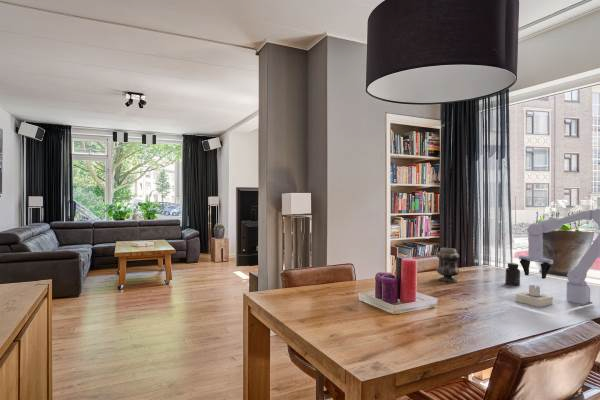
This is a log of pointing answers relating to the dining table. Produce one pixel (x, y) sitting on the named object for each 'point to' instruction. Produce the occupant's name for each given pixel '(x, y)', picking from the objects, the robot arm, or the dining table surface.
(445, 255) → the apothecary jar
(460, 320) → the dining table surface
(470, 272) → the dining table surface
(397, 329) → the dining table surface
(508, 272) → the supplement bottle
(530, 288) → the metal peg
